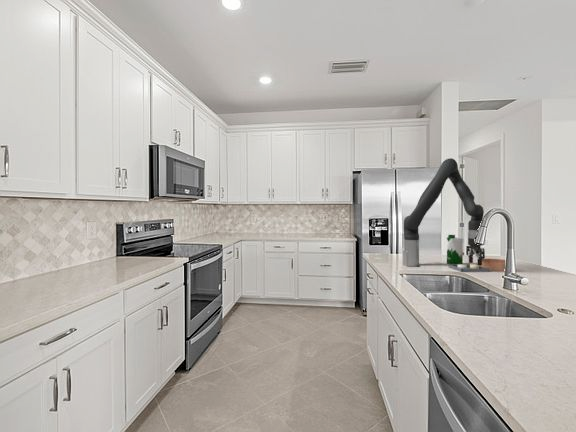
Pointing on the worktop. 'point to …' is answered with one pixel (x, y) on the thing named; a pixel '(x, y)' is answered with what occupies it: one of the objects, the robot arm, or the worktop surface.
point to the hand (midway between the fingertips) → (475, 264)
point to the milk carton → (454, 250)
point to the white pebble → (462, 266)
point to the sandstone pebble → (474, 266)
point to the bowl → (494, 264)
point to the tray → (481, 269)
